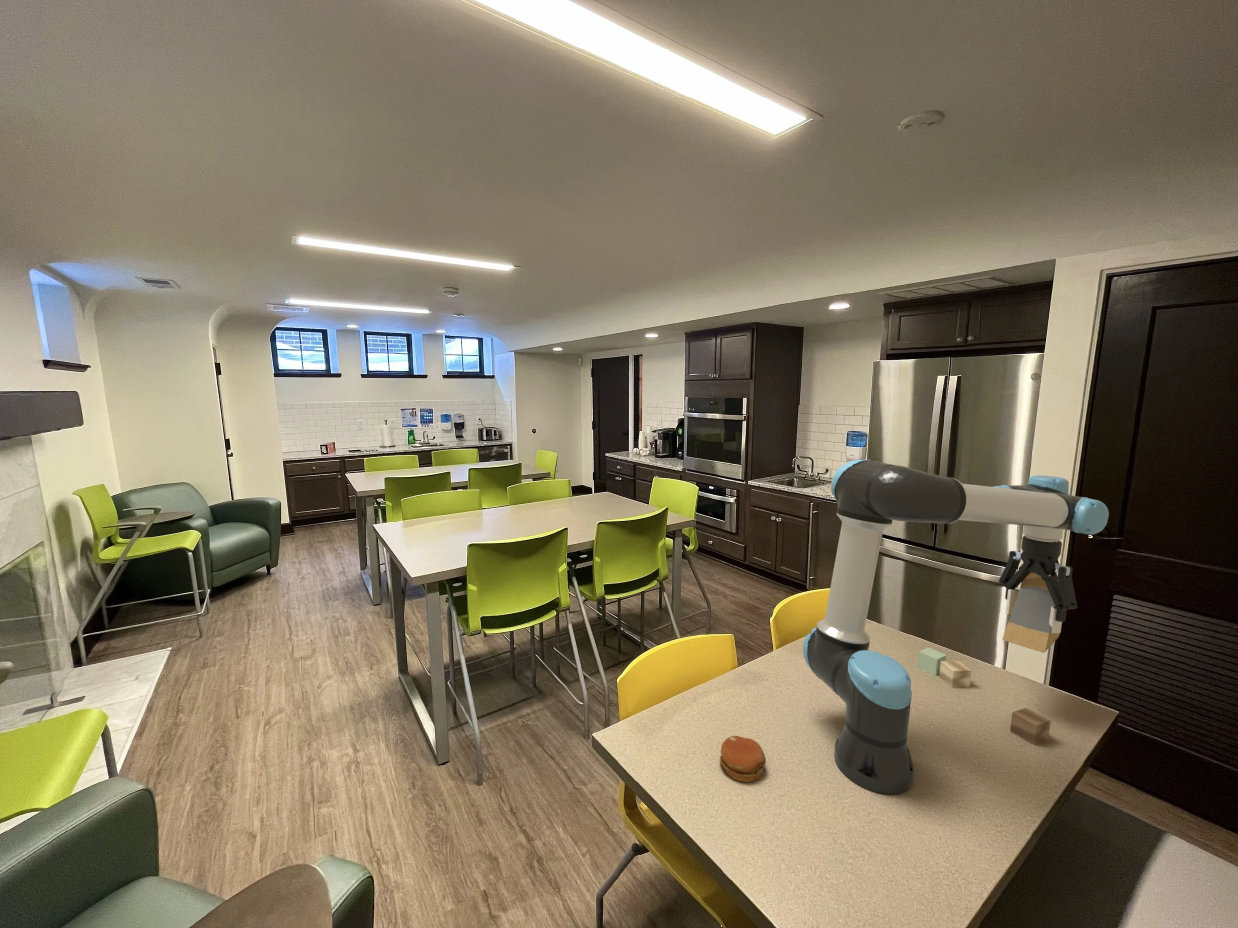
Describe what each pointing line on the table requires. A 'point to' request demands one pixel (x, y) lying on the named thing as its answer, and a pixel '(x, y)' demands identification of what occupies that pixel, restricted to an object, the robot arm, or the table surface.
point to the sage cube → (930, 660)
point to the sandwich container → (1031, 616)
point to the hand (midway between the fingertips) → (1031, 622)
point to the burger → (742, 758)
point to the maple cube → (955, 674)
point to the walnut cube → (1030, 726)
